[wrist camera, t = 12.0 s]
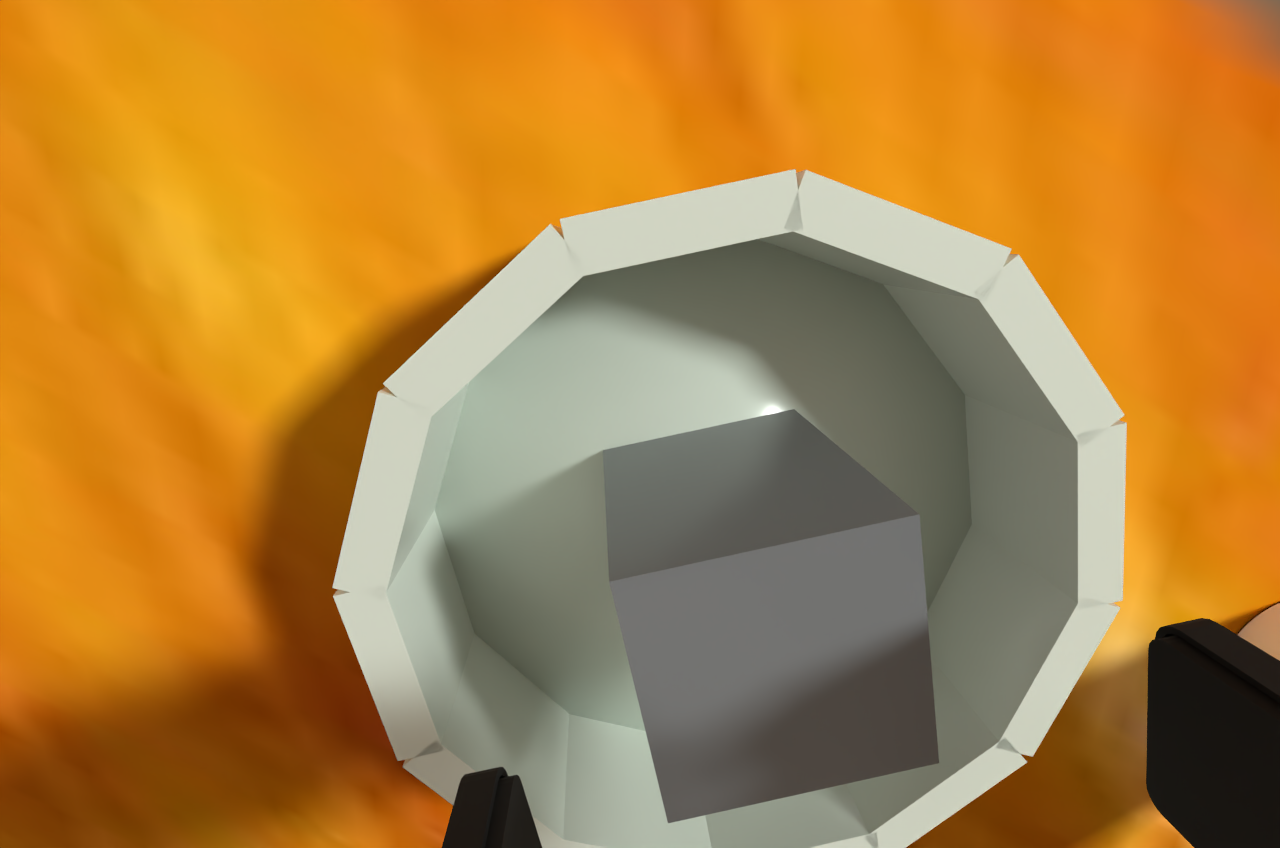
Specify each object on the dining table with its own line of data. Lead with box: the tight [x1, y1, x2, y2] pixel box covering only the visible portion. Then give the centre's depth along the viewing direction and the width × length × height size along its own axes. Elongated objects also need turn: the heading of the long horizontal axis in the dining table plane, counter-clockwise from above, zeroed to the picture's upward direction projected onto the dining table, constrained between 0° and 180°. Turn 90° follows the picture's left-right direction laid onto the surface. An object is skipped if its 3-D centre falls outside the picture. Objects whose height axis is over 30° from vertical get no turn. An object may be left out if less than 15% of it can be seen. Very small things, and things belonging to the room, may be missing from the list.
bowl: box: [332, 169, 1127, 848], centre depth 15 cm, size 16×16×5 cm
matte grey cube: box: [603, 409, 939, 823], centre depth 14 cm, size 5×5×6 cm
